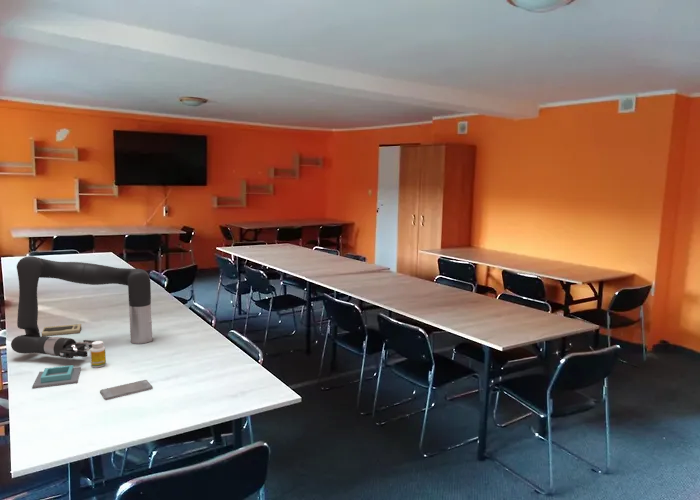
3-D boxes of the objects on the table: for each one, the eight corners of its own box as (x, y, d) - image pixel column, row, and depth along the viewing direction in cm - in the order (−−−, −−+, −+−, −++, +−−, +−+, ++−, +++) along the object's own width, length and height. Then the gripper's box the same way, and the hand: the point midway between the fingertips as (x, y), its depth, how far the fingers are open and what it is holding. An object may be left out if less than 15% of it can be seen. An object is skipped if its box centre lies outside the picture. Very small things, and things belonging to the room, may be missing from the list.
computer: (41, 337, 229) (41, 330, 229) (44, 332, 236) (44, 325, 236) (79, 334, 235) (79, 327, 235) (81, 329, 242) (81, 322, 242)
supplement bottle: (89, 365, 197) (87, 342, 195) (103, 361, 201) (101, 339, 199) (94, 369, 193) (92, 345, 192) (108, 365, 197) (107, 342, 196)
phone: (99, 393, 173) (99, 389, 173) (146, 382, 183) (146, 379, 183) (105, 401, 167) (104, 398, 167) (153, 390, 177) (153, 386, 177)
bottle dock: (81, 369, 193) (80, 362, 192) (77, 382, 180) (76, 375, 180) (39, 373, 187) (39, 366, 187) (32, 388, 175) (31, 381, 174)
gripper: (45, 343, 192) (81, 347, 189) (72, 332, 206) (106, 336, 203) (46, 361, 193) (82, 366, 190) (73, 349, 207) (107, 353, 204)
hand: (94, 350), depth 196 cm, fingers open, 8 cm apart
